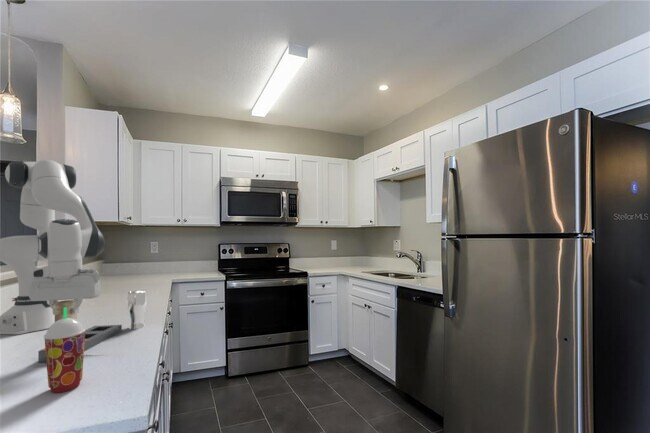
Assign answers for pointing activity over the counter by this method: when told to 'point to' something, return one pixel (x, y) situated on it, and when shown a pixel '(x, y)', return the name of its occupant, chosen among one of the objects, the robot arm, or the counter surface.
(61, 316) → the beech peg
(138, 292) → the beer glass
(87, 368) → the counter surface
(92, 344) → the socket rail
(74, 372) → the smoothie
